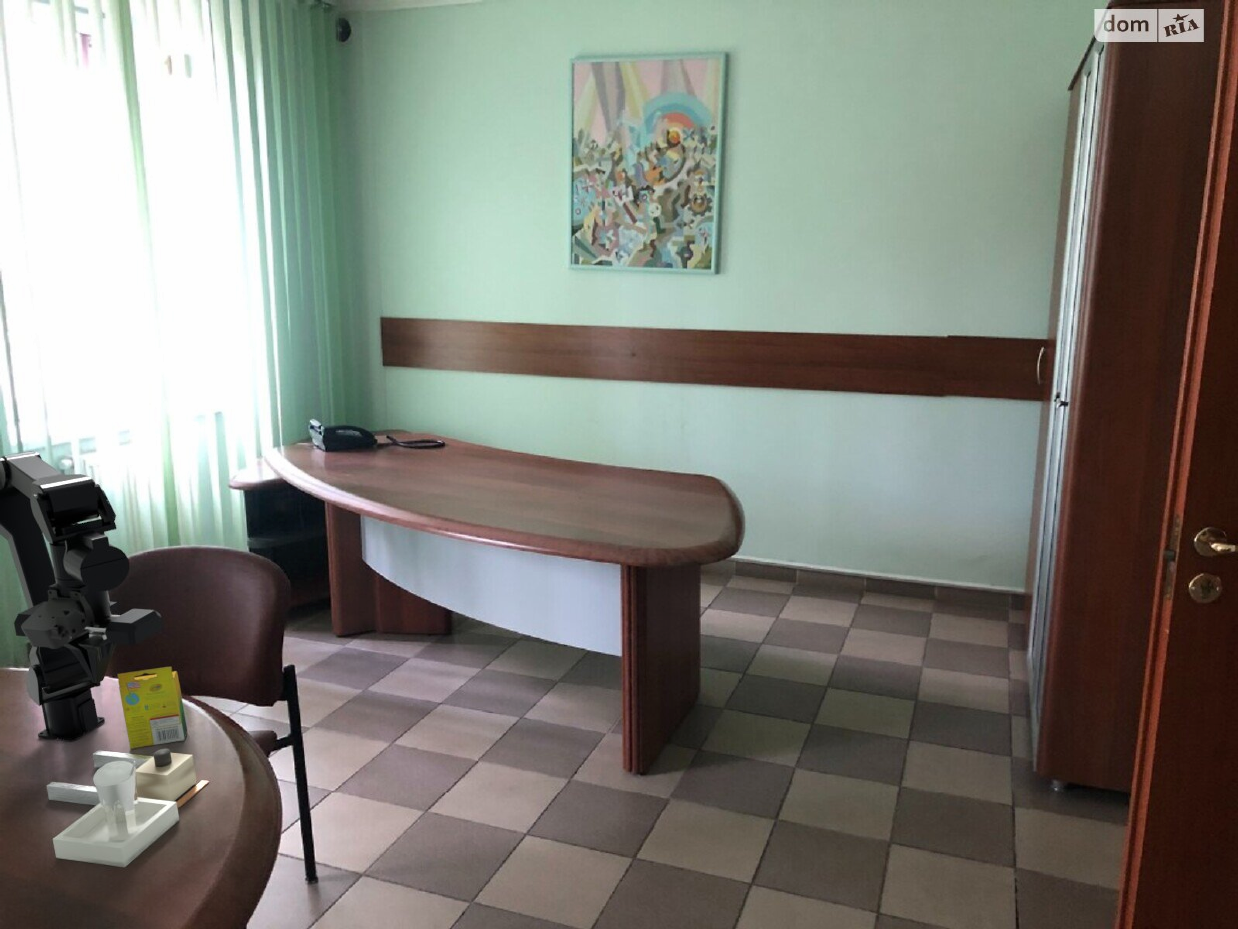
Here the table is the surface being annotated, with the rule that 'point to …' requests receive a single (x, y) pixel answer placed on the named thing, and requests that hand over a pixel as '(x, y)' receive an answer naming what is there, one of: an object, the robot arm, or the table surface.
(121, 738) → the table surface
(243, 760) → the table surface
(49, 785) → the slide rails
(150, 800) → the tray
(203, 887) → the table surface
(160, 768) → the slider
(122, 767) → the milkshake
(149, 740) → the crayon box
